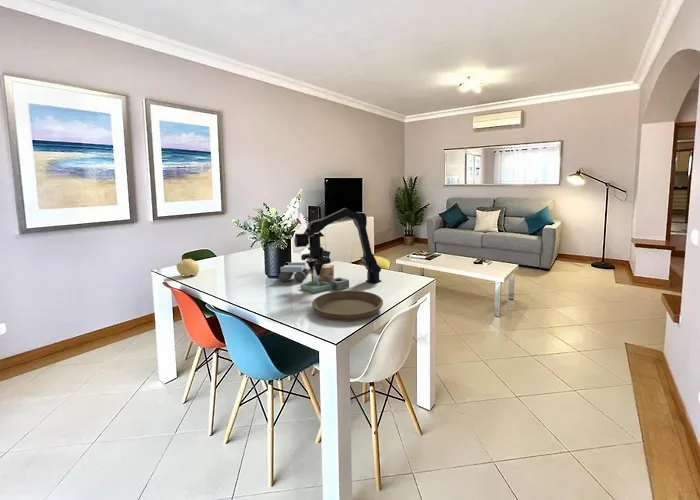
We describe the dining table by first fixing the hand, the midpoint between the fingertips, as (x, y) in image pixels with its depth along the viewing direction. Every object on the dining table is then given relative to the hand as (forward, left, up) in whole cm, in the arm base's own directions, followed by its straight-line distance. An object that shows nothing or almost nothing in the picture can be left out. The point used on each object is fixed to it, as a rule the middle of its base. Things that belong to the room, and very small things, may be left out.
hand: (316, 274), depth 194 cm
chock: (+9, -11, -8) cm, 16 cm away
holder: (-6, -10, -8) cm, 14 cm away
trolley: (+25, -2, -8) cm, 26 cm away
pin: (0, 0, -5) cm, 5 cm away
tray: (0, 0, -8) cm, 8 cm away
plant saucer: (-36, +9, -8) cm, 38 cm away
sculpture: (+80, +40, -8) cm, 90 cm away
